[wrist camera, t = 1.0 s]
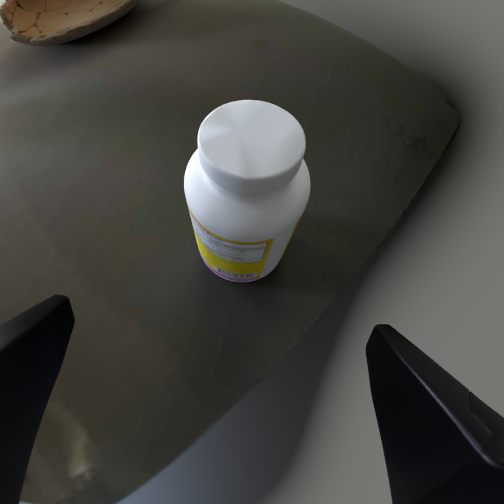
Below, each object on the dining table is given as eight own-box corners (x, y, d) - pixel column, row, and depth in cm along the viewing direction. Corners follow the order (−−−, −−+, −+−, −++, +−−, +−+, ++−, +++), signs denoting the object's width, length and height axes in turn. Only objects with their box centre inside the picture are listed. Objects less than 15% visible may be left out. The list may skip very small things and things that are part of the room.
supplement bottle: (252, 192, 26) (270, 71, 14) (299, 255, 25) (359, 158, 13) (182, 232, 25) (150, 119, 13) (227, 301, 23) (228, 232, 11)
